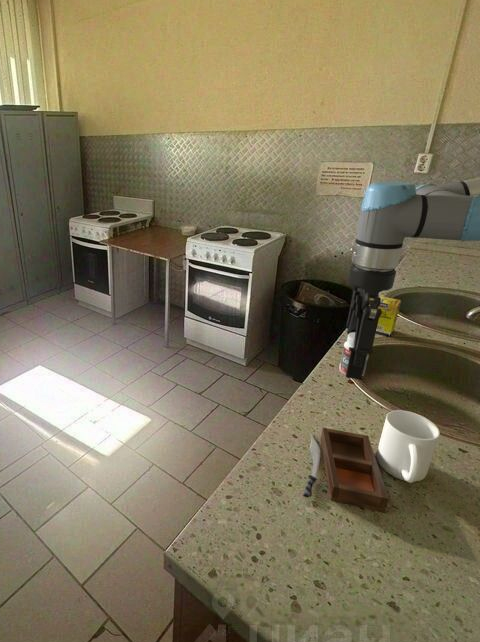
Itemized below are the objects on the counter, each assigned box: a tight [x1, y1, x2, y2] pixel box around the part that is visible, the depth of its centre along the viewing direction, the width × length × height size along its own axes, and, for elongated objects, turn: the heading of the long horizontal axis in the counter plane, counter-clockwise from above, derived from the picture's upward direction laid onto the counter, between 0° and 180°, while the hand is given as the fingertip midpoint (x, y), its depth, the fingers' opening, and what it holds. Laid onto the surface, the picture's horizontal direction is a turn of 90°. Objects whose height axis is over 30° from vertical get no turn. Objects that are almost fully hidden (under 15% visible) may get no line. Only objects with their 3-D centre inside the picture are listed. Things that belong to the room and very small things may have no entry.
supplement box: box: [376, 295, 402, 336], centre depth 128 cm, size 6×6×11 cm
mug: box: [376, 409, 441, 484], centre depth 74 cm, size 12×8×10 cm
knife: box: [302, 432, 321, 498], centre depth 79 cm, size 19×2×1 cm, turn 152°
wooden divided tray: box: [319, 427, 390, 514], centre depth 76 cm, size 8×16×3 cm, turn 161°
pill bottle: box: [338, 332, 370, 377], centre depth 82 cm, size 5×5×8 cm
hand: (351, 370), depth 83 cm, fingers closed on pill bottle, 5 cm apart
